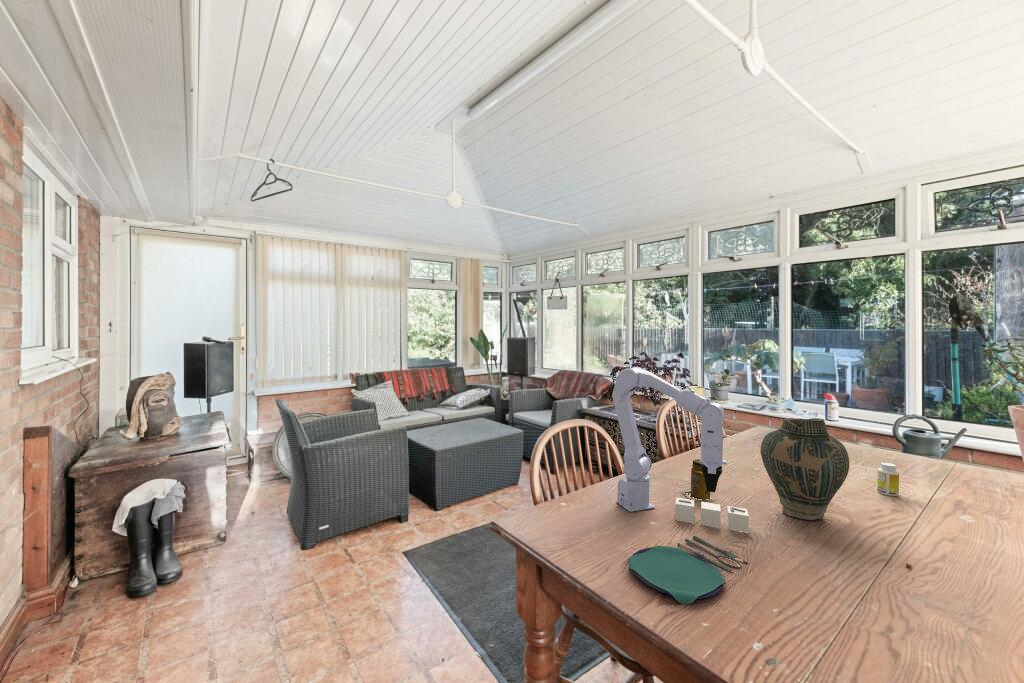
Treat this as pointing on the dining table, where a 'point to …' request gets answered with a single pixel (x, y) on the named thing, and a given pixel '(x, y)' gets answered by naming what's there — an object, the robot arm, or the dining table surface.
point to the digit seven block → (737, 519)
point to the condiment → (698, 483)
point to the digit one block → (684, 510)
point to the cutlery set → (680, 571)
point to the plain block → (710, 514)
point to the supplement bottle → (888, 479)
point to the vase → (804, 466)
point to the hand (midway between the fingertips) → (710, 490)
